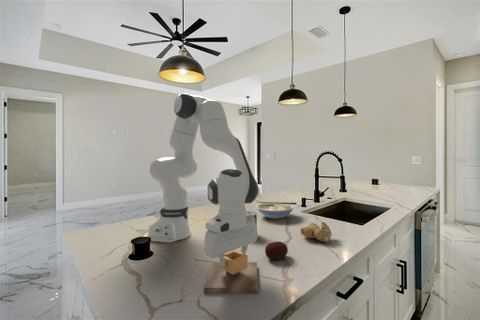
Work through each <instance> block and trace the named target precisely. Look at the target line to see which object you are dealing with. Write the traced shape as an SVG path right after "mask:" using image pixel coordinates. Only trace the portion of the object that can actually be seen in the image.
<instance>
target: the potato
mask: <svg viewBox="0 0 480 320" xmlns="http://www.w3.org/2000/svg"><path fill="white" fill-rule="evenodd" d="M264 252H265V256H266V258H268V259H270V260H271V261H272V260H274V261H278V260H281V259H282V260H283V258H285V256H287V254H288V252H289V248H288V246H287V245H286V244H285V242H284V241H283V242H282V241H278V240H277V241H272V242H269V243H268V244H267V245H266V246H265V249H264Z"/></svg>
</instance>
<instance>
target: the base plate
mask: <svg viewBox="0 0 480 320" xmlns="http://www.w3.org/2000/svg"><path fill="white" fill-rule="evenodd" d="M232 260H234V259H232ZM258 278H259V276H258V262H251V261H250V262H249V261H248V268H246V269H244V270H241V271H239V272H237V273H235V274H231V273H229V272H227V271H225V270H224V269H222V268H220V261H212V263H211V266H210V268H209V272H208V275H207V277H206V280H205V284H204V286H203V292H204V293H210V294H211V293H212V294H217V293H219V294H259V279H258Z"/></svg>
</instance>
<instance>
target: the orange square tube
mask: <svg viewBox="0 0 480 320" xmlns="http://www.w3.org/2000/svg"><path fill="white" fill-rule="evenodd" d="M224 259H225V260H228V263H227V264H228V265H227V266H225V267H222V266H221V260H220V259H219V262H220V268H222V269H224V270H225V271H227V272H229V273H231V274H235V273H237V272H239V271H241V270H244V269H246V268H248V262H249V261H248V260H249V259H248V255H247V254H246V253H245V254H243V253H241V251H238V250H237V249H235V250H232V251H230V252H227V253H225V257H224ZM232 259H234V260H232Z"/></svg>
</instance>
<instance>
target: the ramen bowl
mask: <svg viewBox="0 0 480 320" xmlns="http://www.w3.org/2000/svg"><path fill="white" fill-rule="evenodd" d="M257 203H258V204H256V208H257V211H259V213H260V214H261V215H262V216H264V217H267V218H269V219H271V220H280V219H283V218H285V217H287V216H288V215H290V214H291V213H292V211H293V210H294V208H295V206H294V205H297V202H283V201H282V202H279V201H264V202H263V201H258V202H257Z"/></svg>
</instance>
